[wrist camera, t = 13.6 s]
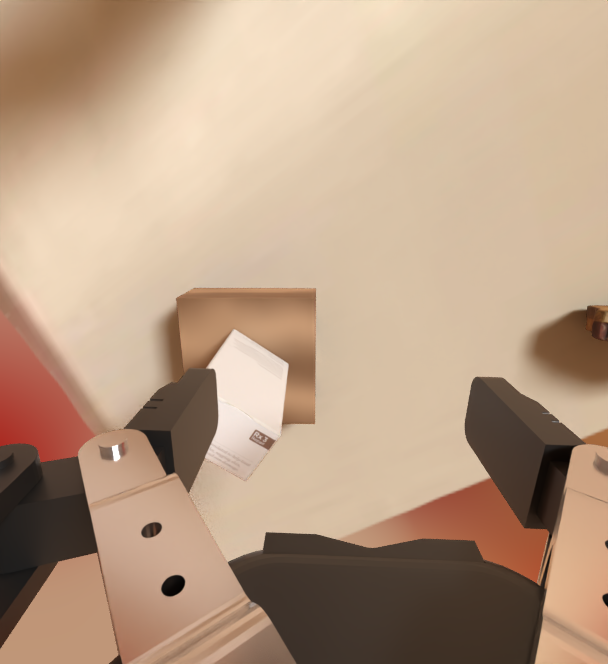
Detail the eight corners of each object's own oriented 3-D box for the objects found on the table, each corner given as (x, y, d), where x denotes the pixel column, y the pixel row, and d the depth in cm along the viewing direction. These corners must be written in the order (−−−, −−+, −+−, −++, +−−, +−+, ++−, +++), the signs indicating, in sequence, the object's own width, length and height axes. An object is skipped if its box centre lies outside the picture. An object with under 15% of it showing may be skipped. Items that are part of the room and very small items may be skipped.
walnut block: (194, 288, 37) (176, 298, 32) (315, 288, 36) (315, 298, 32) (204, 398, 40) (188, 422, 35) (315, 399, 40) (314, 423, 35)
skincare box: (210, 363, 34) (154, 438, 22) (235, 324, 33) (190, 381, 21) (267, 399, 34) (242, 489, 23) (294, 361, 33) (282, 436, 22)
